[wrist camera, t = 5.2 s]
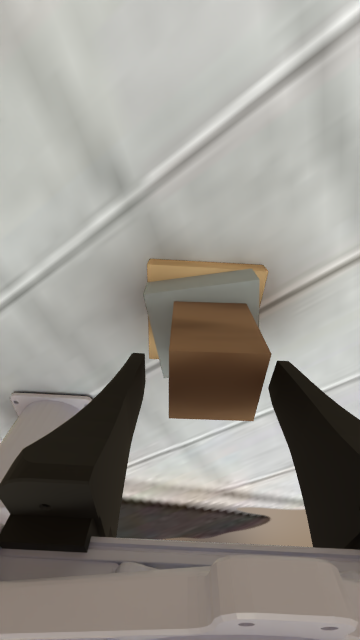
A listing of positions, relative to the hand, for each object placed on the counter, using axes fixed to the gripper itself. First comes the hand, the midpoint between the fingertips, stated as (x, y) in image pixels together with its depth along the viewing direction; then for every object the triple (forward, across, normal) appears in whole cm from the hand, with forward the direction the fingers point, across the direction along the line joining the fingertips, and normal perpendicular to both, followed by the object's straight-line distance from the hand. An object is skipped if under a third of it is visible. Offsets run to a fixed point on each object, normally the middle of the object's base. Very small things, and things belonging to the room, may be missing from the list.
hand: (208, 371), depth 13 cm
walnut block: (+3, 0, 0) cm, 3 cm away
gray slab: (+6, 0, 0) cm, 6 cm away
